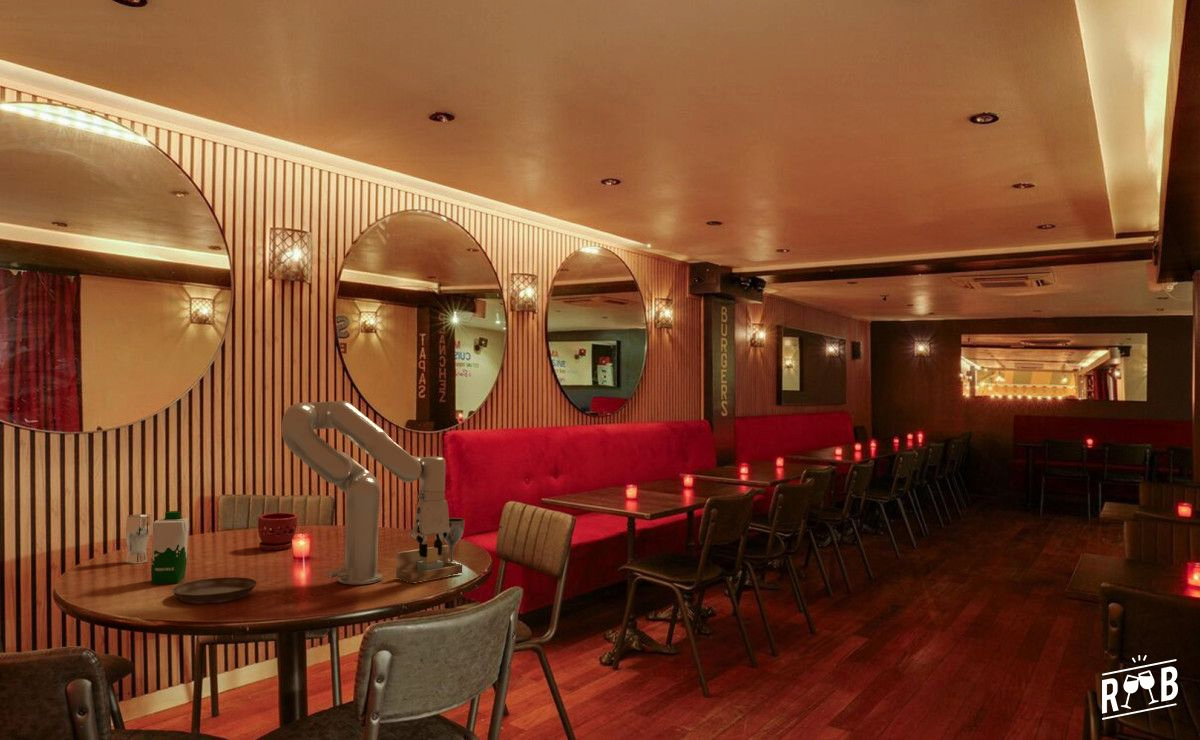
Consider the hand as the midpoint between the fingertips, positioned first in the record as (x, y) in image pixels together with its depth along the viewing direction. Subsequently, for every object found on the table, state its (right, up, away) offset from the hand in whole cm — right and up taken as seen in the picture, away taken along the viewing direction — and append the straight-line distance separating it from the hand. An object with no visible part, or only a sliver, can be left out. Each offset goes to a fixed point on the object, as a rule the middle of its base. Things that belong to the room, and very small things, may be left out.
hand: (430, 554), depth 233 cm
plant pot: (-65, -8, +39) cm, 76 cm away
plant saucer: (-53, -5, -27) cm, 60 cm away
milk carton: (-75, -5, -12) cm, 76 cm away
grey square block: (0, -7, 0) cm, 7 cm away
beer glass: (-99, -6, +13) cm, 100 cm away
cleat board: (0, -7, 0) cm, 7 cm away
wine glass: (+3, -8, +18) cm, 19 cm away
